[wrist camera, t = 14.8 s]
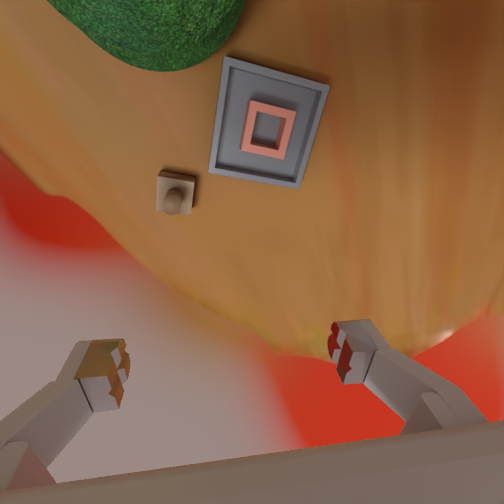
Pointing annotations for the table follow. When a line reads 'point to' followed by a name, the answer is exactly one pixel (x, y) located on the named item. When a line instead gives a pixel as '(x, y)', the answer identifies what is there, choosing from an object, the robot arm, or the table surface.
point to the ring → (282, 134)
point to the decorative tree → (155, 28)
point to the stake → (174, 193)
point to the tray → (264, 123)
